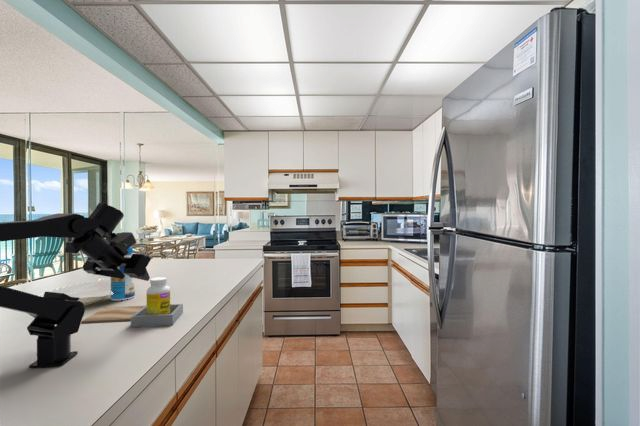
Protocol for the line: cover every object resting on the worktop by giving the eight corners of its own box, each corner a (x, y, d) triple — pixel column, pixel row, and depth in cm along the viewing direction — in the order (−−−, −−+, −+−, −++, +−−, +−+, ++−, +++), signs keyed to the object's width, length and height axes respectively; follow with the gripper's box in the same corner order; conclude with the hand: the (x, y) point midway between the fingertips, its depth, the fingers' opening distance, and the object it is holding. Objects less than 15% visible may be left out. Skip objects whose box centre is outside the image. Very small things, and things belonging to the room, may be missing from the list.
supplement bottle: (160, 324, 97) (160, 281, 97) (141, 322, 99) (141, 280, 99) (174, 316, 104) (174, 276, 104) (156, 315, 105) (156, 276, 105)
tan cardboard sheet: (131, 320, 100) (131, 318, 100) (81, 323, 98) (81, 321, 98) (147, 307, 114) (147, 305, 114) (104, 309, 112) (104, 307, 112)
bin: (172, 324, 97) (172, 314, 97) (130, 327, 95) (130, 316, 95) (182, 312, 108) (182, 303, 108) (145, 314, 106) (145, 305, 106)
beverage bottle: (107, 298, 126) (107, 246, 126) (132, 294, 132) (132, 245, 131) (112, 302, 120) (111, 248, 120) (137, 298, 125) (137, 247, 125)
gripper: (143, 224, 86) (175, 256, 97) (89, 223, 91) (126, 254, 102) (119, 260, 79) (156, 290, 90) (63, 257, 84) (105, 285, 96)
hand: (135, 278), depth 95 cm, fingers open, 9 cm apart
